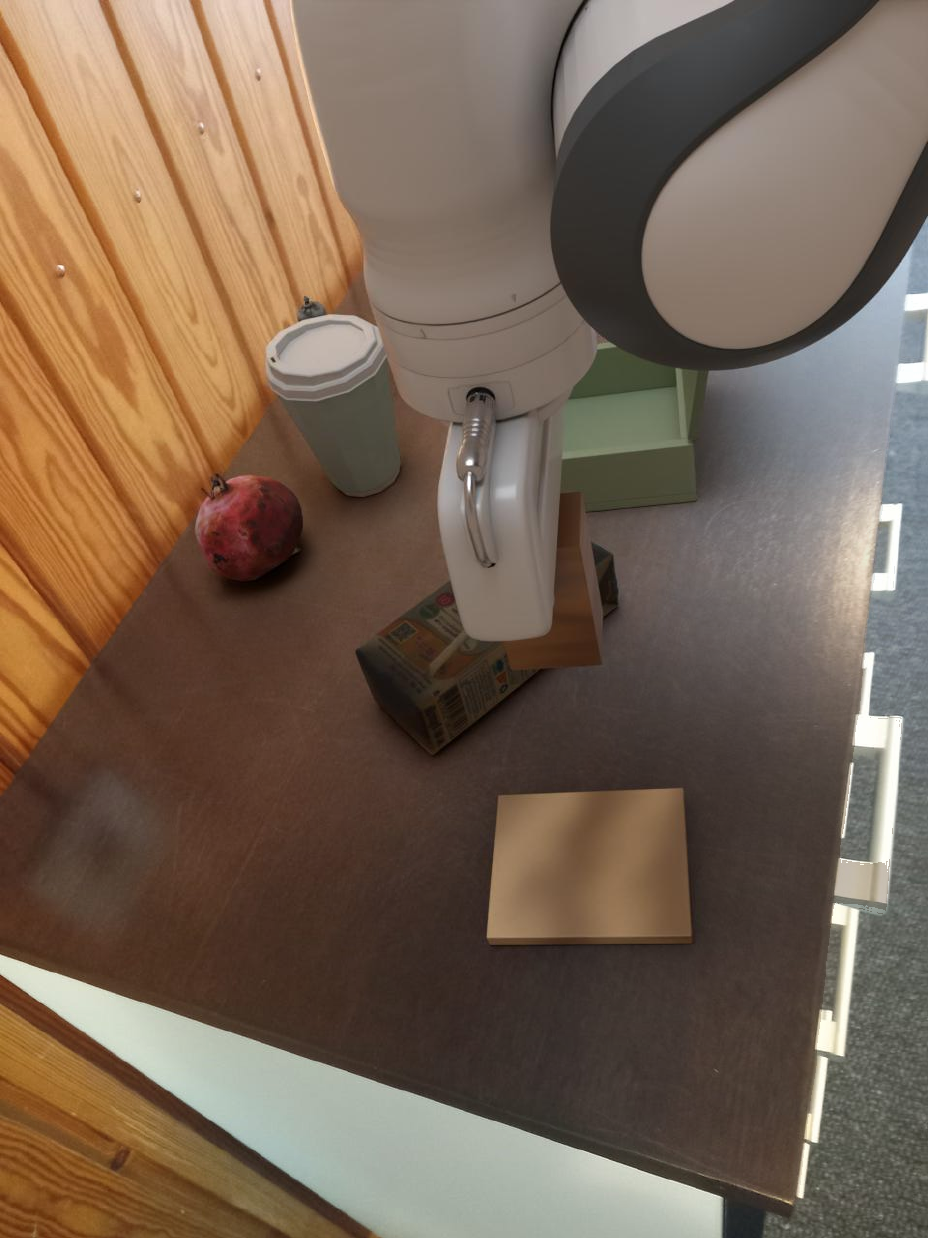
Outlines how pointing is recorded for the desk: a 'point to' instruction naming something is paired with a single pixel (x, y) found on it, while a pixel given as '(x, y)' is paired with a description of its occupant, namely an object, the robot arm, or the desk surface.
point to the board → (590, 869)
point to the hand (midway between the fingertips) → (541, 561)
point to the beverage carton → (448, 664)
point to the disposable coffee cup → (339, 398)
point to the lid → (694, 399)
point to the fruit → (248, 526)
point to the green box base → (627, 435)
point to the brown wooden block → (568, 600)
